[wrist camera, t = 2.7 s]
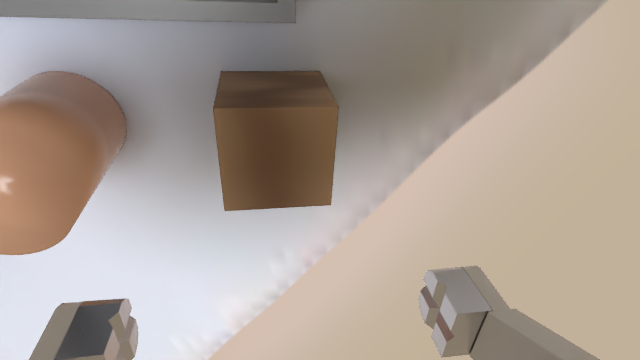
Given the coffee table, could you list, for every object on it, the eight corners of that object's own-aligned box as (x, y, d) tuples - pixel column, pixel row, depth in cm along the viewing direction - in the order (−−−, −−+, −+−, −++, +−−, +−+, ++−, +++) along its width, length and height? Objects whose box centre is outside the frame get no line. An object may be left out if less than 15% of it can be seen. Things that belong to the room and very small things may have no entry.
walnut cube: (319, 71, 20) (338, 106, 15) (315, 155, 22) (330, 205, 18) (221, 71, 19) (213, 108, 15) (229, 158, 21) (224, 210, 17)
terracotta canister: (113, 71, 18) (48, 134, 12) (136, 161, 21) (91, 250, 15) (-4, 70, 17) (-134, 138, 11) (35, 165, 20) (-54, 259, 14)
